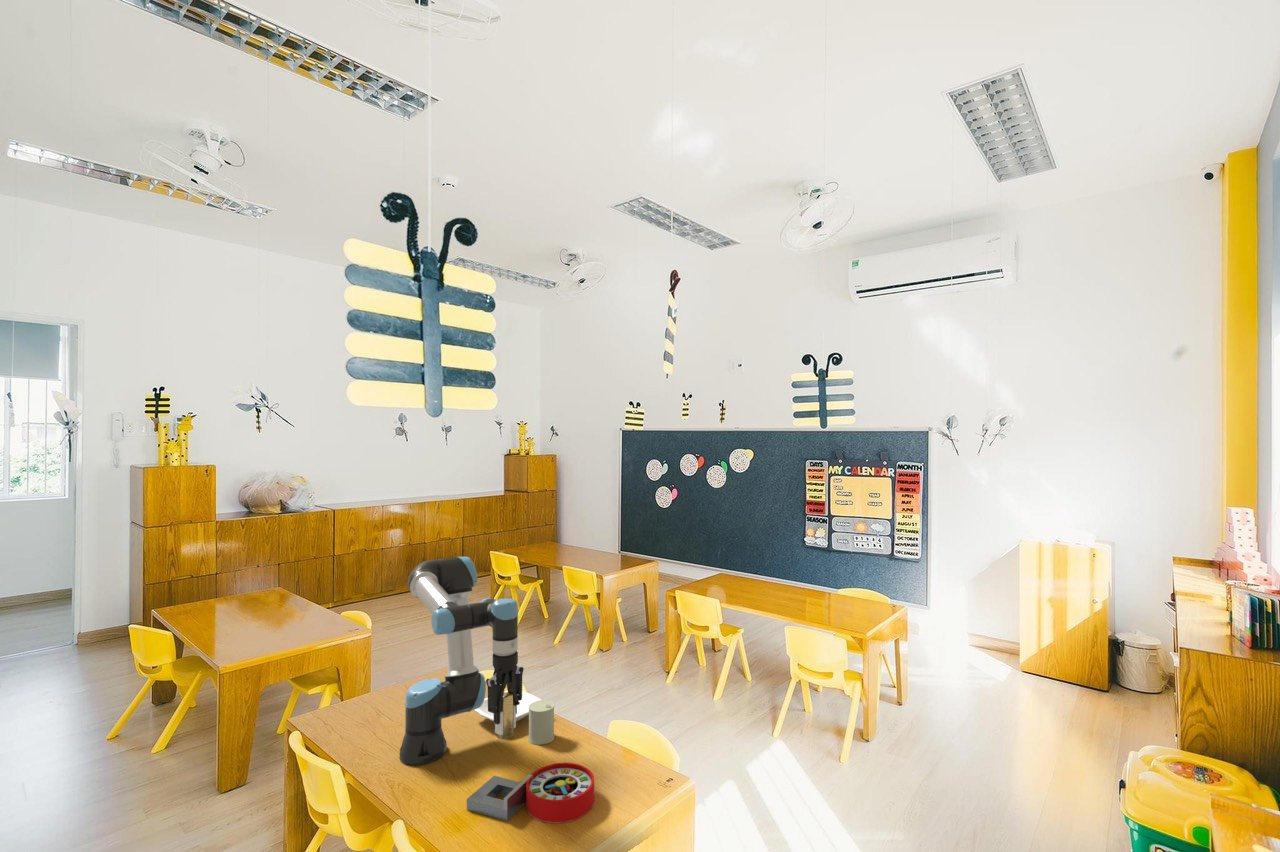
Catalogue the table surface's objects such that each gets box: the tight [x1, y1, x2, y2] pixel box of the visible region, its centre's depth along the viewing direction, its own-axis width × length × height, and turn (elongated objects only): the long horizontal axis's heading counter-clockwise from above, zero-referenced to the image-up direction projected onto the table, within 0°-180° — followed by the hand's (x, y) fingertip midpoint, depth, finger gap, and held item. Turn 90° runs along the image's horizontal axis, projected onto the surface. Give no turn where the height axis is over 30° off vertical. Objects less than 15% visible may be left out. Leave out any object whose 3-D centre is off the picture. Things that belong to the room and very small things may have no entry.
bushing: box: [497, 692, 514, 740], centre depth 177 cm, size 4×4×12 cm
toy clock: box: [525, 762, 595, 824], centre depth 172 cm, size 20×6×20 cm
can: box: [528, 699, 555, 746], centre depth 210 cm, size 9×9×12 cm
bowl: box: [474, 690, 542, 722], centre depth 225 cm, size 22×23×6 cm
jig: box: [466, 774, 533, 822], centre depth 172 cm, size 14×13×6 cm
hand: (505, 730), depth 176 cm, fingers closed on bushing, 4 cm apart
